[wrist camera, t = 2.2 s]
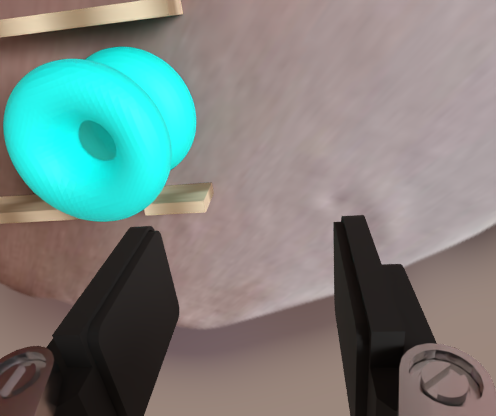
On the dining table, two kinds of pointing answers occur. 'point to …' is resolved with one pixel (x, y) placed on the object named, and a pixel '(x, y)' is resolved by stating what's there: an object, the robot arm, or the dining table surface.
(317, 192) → the dining table surface
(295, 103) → the dining table surface
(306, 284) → the dining table surface
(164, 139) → the donuts
